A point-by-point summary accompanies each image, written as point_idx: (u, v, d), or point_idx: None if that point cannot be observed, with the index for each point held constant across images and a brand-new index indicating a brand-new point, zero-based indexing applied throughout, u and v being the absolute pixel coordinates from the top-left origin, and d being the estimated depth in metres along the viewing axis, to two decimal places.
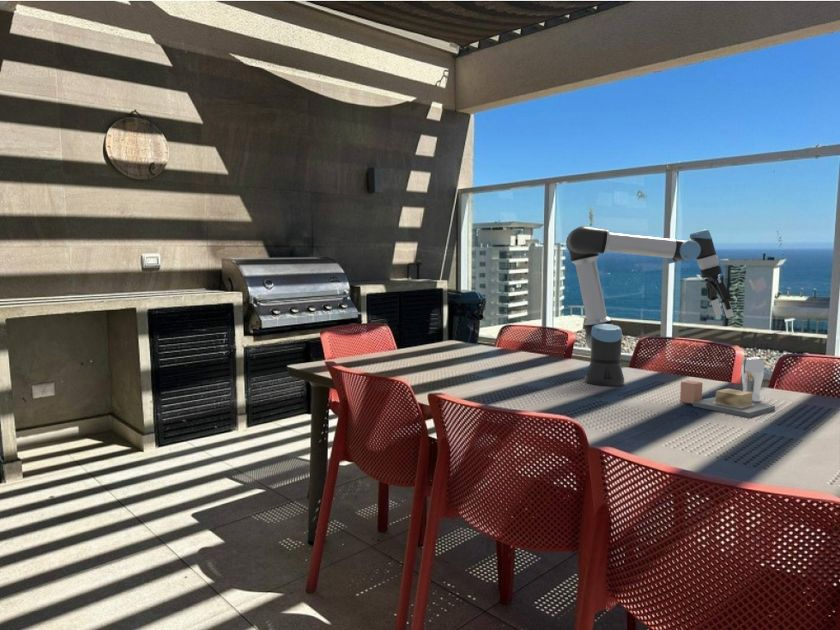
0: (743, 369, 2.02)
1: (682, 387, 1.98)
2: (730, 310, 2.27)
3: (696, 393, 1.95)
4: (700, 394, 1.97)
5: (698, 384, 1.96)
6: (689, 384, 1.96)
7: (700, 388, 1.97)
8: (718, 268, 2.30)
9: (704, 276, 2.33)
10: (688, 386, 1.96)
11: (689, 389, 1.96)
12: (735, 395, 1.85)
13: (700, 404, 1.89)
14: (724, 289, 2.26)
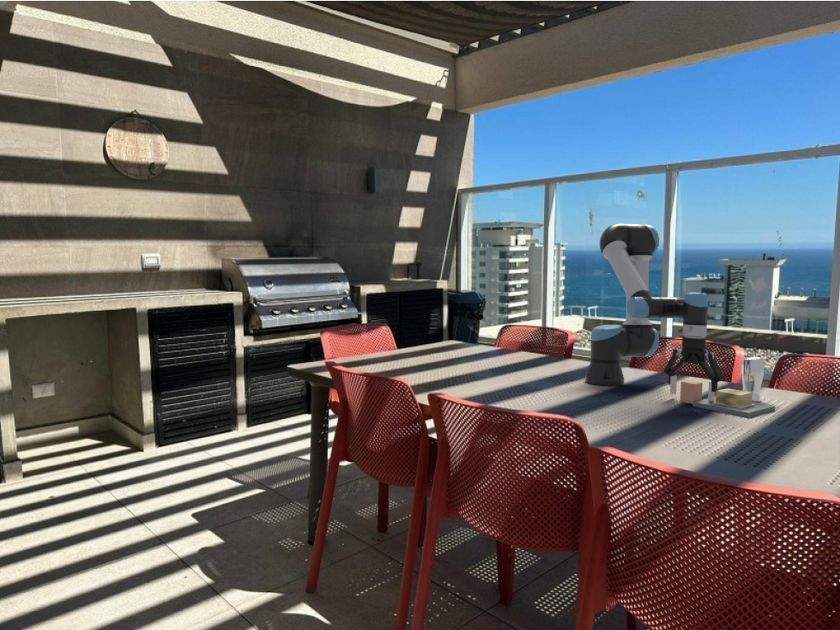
0: (743, 369, 2.02)
1: (682, 387, 1.98)
2: None
3: (696, 393, 1.95)
4: (700, 394, 1.97)
5: (698, 384, 1.96)
6: (689, 384, 1.96)
7: (700, 388, 1.97)
8: (682, 340, 1.98)
9: None
10: (688, 386, 1.96)
11: (689, 389, 1.96)
12: (735, 395, 1.85)
13: (700, 404, 1.89)
14: None
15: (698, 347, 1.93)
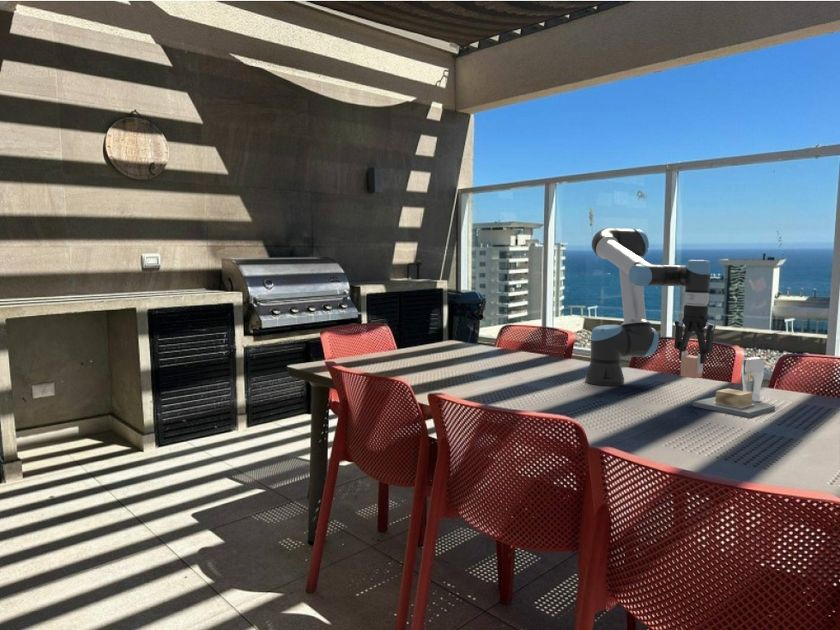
0: (743, 369, 2.02)
1: (683, 362, 1.98)
2: None
3: (696, 367, 1.95)
4: None
5: None
6: (689, 359, 1.96)
7: None
8: None
9: None
10: (689, 361, 1.96)
11: (690, 363, 1.96)
12: (735, 395, 1.85)
13: (700, 404, 1.89)
14: None
15: (700, 315, 1.92)
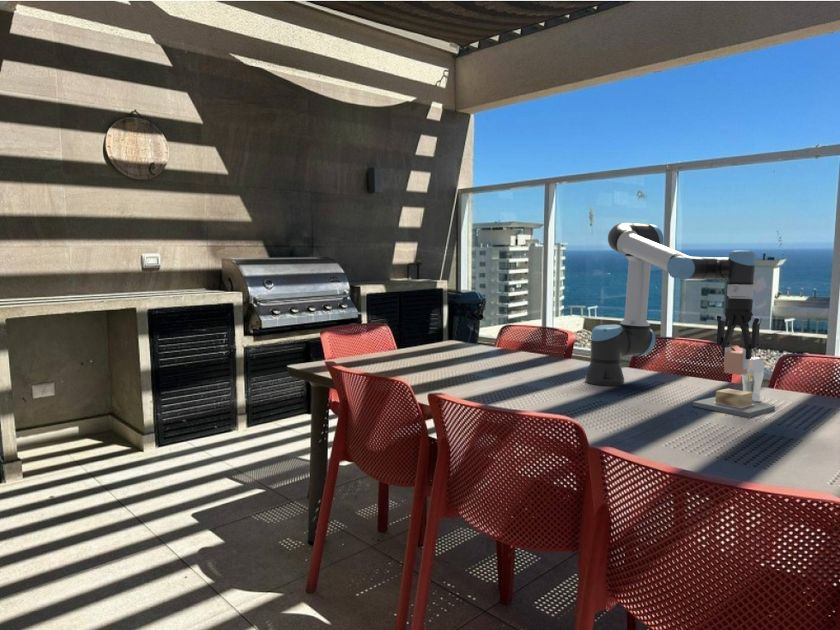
0: None
1: (726, 357, 1.88)
2: None
3: None
4: None
5: None
6: (734, 354, 1.86)
7: None
8: None
9: None
10: (734, 356, 1.86)
11: (735, 359, 1.86)
12: (735, 395, 1.85)
13: (700, 404, 1.89)
14: None
15: (744, 308, 1.83)
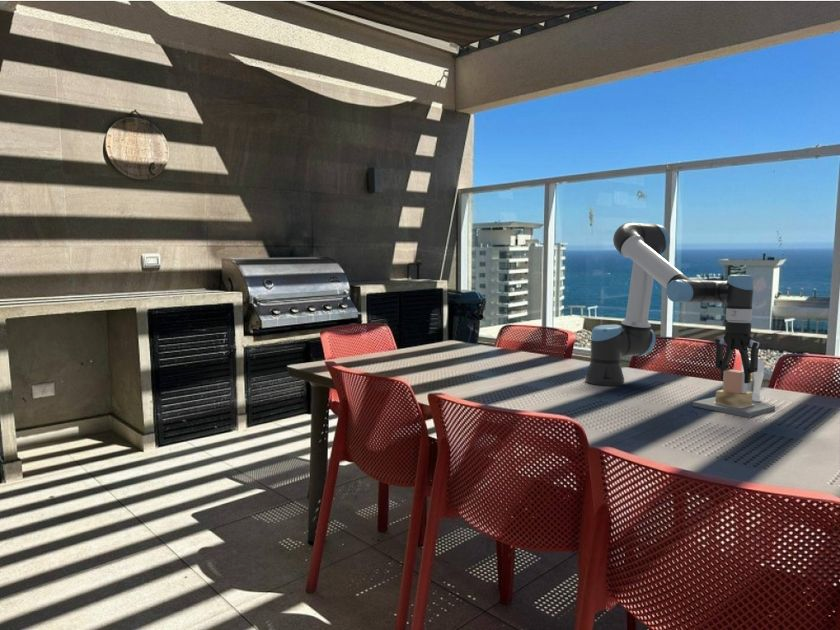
0: (743, 369, 2.02)
1: (726, 376, 1.89)
2: None
3: None
4: None
5: None
6: (733, 373, 1.87)
7: None
8: (725, 325, 1.89)
9: None
10: (733, 375, 1.87)
11: (734, 378, 1.86)
12: (735, 395, 1.85)
13: (700, 404, 1.89)
14: None
15: (743, 332, 1.84)
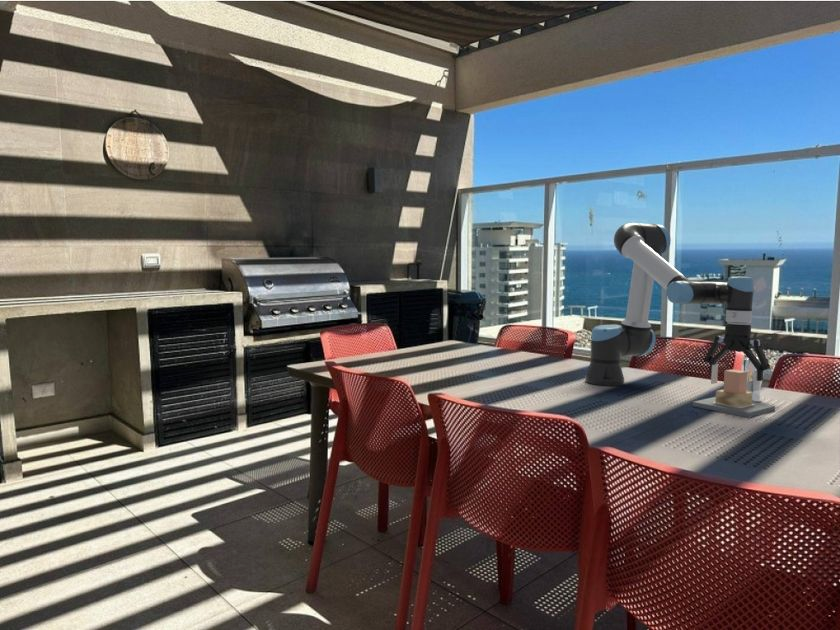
0: (743, 369, 2.02)
1: (726, 376, 1.89)
2: None
3: (741, 382, 1.86)
4: (744, 383, 1.87)
5: (743, 373, 1.86)
6: (733, 373, 1.86)
7: (745, 377, 1.87)
8: (725, 327, 1.89)
9: None
10: (733, 376, 1.87)
11: (734, 378, 1.86)
12: (735, 395, 1.85)
13: (700, 404, 1.89)
14: None
15: (743, 334, 1.84)
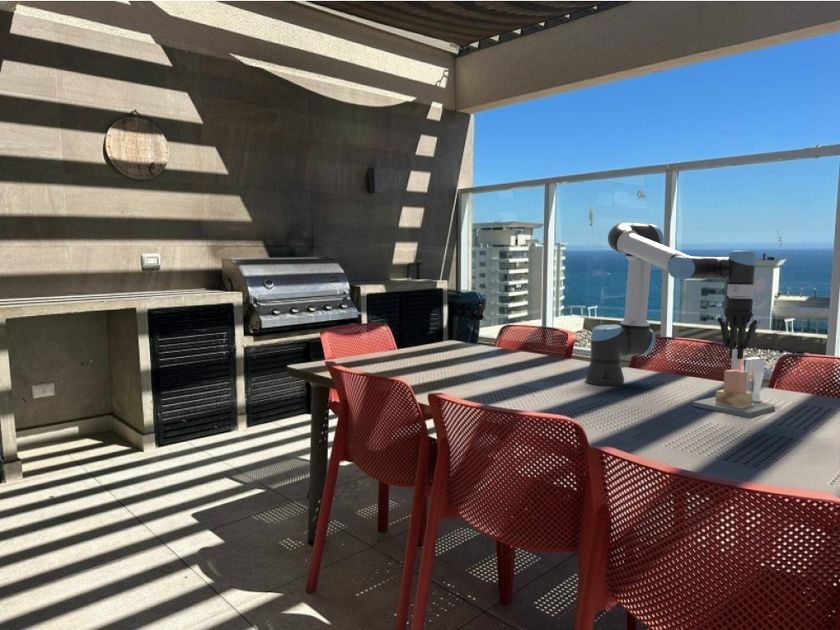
0: (743, 369, 2.02)
1: (726, 376, 1.89)
2: None
3: (741, 382, 1.86)
4: (744, 383, 1.87)
5: (743, 373, 1.86)
6: (733, 373, 1.86)
7: (745, 377, 1.87)
8: None
9: None
10: (733, 376, 1.87)
11: (734, 378, 1.86)
12: (735, 395, 1.85)
13: (700, 404, 1.89)
14: None
15: (744, 308, 1.83)
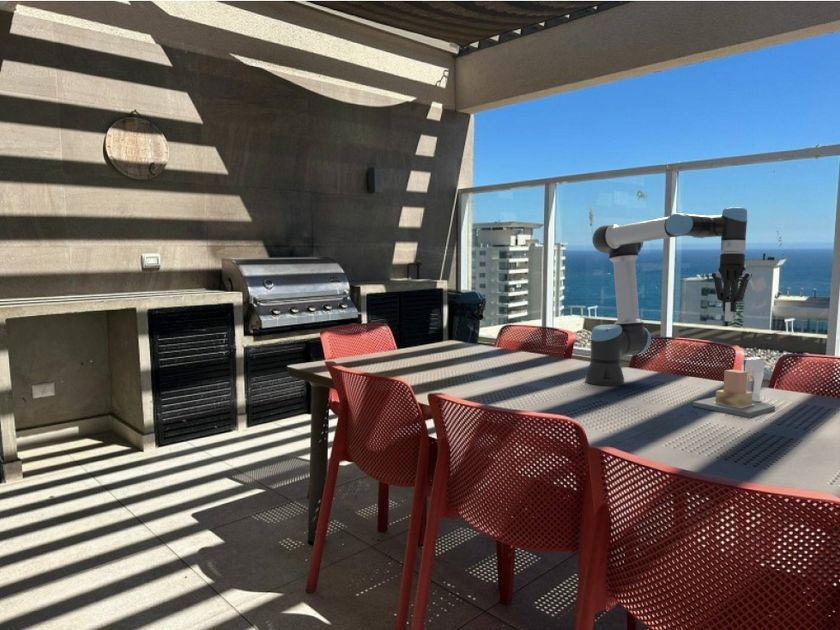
0: (743, 369, 2.02)
1: (726, 376, 1.89)
2: None
3: (741, 382, 1.86)
4: (744, 383, 1.87)
5: (743, 373, 1.86)
6: (733, 373, 1.86)
7: (745, 377, 1.87)
8: (720, 257, 1.97)
9: None
10: (733, 376, 1.87)
11: (734, 378, 1.86)
12: (735, 395, 1.85)
13: (700, 404, 1.89)
14: None
15: (737, 262, 1.92)
